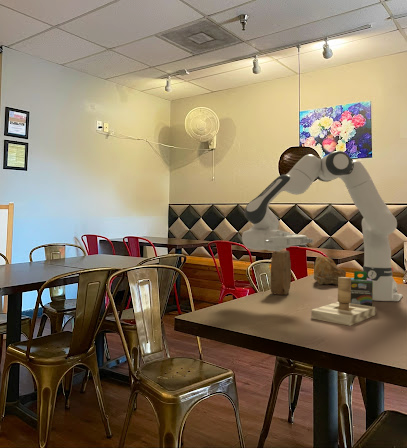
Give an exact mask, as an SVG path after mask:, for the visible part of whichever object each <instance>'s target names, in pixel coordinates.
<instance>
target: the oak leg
mask: <svg viewBox="0 0 407 448" xmlns="http://www.w3.org/2000/svg"><path fill="white" fill-rule="evenodd" d="M351 278H352V277H338V285H337V302H339V309H340V310H346V311H349V303H351Z"/></svg>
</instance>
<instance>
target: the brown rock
mask: <svg viewBox="0 0 407 448" xmlns="http://www.w3.org/2000/svg"><path fill="white" fill-rule="evenodd" d="M337 265H338V264H336V263H335V261H334V260H333V259H332V258H330V257H329V256H328V257H327V256H320V255H319V256H317V257H316V259H315V262H314V266H313V279H314V281H316V282H317V284H318V285H324V284H325V285H330V284H333V285H336V286H338V277H346V276H347V272H346V270H345V269H343V268H341V267H338V266H337Z"/></svg>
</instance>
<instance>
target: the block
mask: <svg viewBox="0 0 407 448" xmlns="http://www.w3.org/2000/svg"><path fill="white" fill-rule="evenodd" d="M290 255H291V254H290V251H289V250H281V251H272V253H271V261H270V293H271V294H273V295H279V296H285V295H288V294H289V292H290V289H291V283H292V280H291V279H292V278H291V277H292V268H291V267H292V266H291V258H290V257H291V256H290Z"/></svg>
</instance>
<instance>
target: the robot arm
mask: <svg viewBox="0 0 407 448" xmlns="http://www.w3.org/2000/svg"><path fill="white" fill-rule="evenodd" d="M316 179H317V180H319V181H321V182H326V183H328V182H332V181H334V180H337V179H341V181H342V182H343V183H344V184H345V185H344V186H345V187H346V189H347V191H348V194H349V195H350V198H351V200H352V202H353V204H354V205H355V207H356V208H357V210H358V211H359V213H360V214H361V216H362V217H363V218H362V219H361V229H362V240H363V241H362V242H363V249H364V250H363V251H364V255H363V259H364V260H363V266H362V271H364V272H367V278H371V279H372V281H373V301H375V302H377V301H378V302H380V301H381V302H399V301H400V300H401V299H402V298H403V294H402V293H398V283H397V282H396V281H395V279H394V277H393V273H394V267H392V248H391V245H390V239H389V235H391V234H393V233H394V232H395V231H396V229H397V227H398V222H397V218H396V217H395V215H393V213H392V211H391V210H390V209H389V207H388V206H387V204H386V203H385V201H384V200H383V199H382V197H381V195H380V193H379V192H378V189H377V187H376V185H375V183H374V182H373V179H372V177H371V176H370V174H369V172H368V170H367V169H366V168H365V166H364V164H363V163H362V162H361V161H359V160H353V158H351V157H350V156H349V154H348V153H346V152H344V151H342V150H336V151H332V152H330V153H328V154H327V155H325V156H324V157H322V158H318V157H317V156H316V155H313V154H306V155H304V156H303V157H301V158H300V159H299V160H298V161H297V162H296V163H295V164H294V165H293V167H292V168H291V169H290V170H289V171H288V172H287V173H286V174H281V175H279V176H277V177H276V178H275V179H274V180H273V181H272V182H271V183H270V184H269V185H268V186H267V187H266V188H265V189H263V190H262V191H261V192H260V193H259V194H258V195H257V196H255V198H253V199H252V200H251V201H249V202H248V203H247V204H246V206H245V208H244V212H243V214H244V218H245V219H246V220H247V221H248V222H250V223H251V224H252V226H251V227H250V228H249V229H248V230H244V231H243V232H242V234H241V240H242V244H243V246H245V247H246V248H247V249H249V250H256V251H264V250H265V251H269V252H270V251H271V252H274V251H284V250H285V249H287V248H288V249H289V248H290V247H294V246H305V245H307V244H313V243H314V238H308V236H307V235H304V234H297V233H291V232H290V231H289V232H288V231H284V230H281V229H279V227H280V220H279V219H278V217H277V216H276V215H275V213H274V212H272V210H271V209H270V207H269V206H270V203H272V202H273V200H274V199H276V197H278V196H279V194H281V193H283V192H287V193H289V194H290V195H291V194H292V195H296V196H297V195H302V194H304V193H305V192H307V190H308V189H310V187H311V185H312V184H313V183H314V181H316ZM361 277H363V275H362V276H361Z"/></svg>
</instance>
